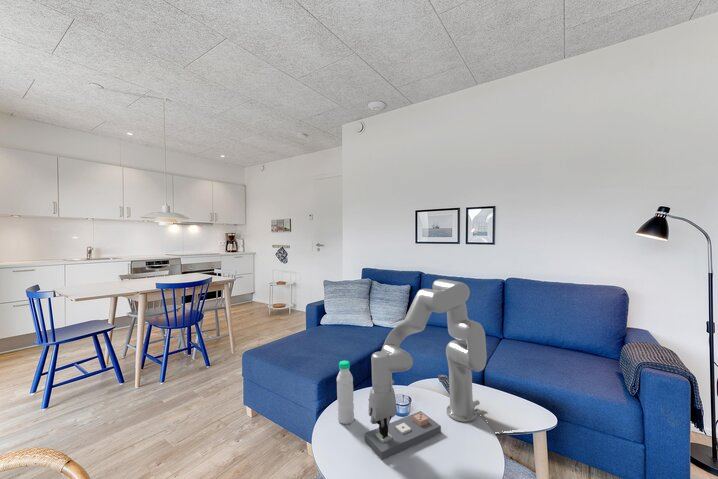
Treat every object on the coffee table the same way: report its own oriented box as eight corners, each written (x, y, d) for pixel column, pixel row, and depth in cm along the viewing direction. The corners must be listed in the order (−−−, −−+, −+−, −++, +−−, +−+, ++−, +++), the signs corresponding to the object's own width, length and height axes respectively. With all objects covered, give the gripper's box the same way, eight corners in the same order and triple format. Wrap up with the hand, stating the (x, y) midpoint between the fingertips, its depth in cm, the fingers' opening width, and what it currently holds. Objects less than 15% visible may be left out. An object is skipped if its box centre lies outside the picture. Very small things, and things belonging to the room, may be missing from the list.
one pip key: (404, 431, 120) (404, 422, 120) (411, 437, 116) (411, 428, 116) (395, 435, 118) (395, 426, 118) (402, 441, 114) (401, 432, 114)
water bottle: (339, 426, 125) (337, 366, 125) (336, 416, 132) (334, 359, 132) (355, 423, 127) (354, 364, 127) (352, 413, 134) (350, 358, 134)
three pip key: (421, 421, 125) (421, 412, 125) (428, 426, 121) (428, 417, 121) (413, 424, 122) (413, 415, 122) (420, 430, 119) (420, 421, 119)
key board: (420, 417, 129) (420, 411, 129) (441, 433, 119) (440, 425, 119) (364, 441, 116) (364, 433, 116) (381, 460, 105) (381, 452, 105)
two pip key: (385, 439, 116) (385, 430, 116) (392, 445, 112) (392, 436, 112) (376, 443, 114) (375, 433, 114) (382, 450, 110) (382, 440, 110)
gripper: (392, 377, 120) (394, 423, 120) (360, 387, 112) (361, 436, 112) (404, 385, 113) (405, 433, 113) (370, 396, 106) (372, 448, 106)
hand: (383, 434), depth 113 cm, fingers closed
